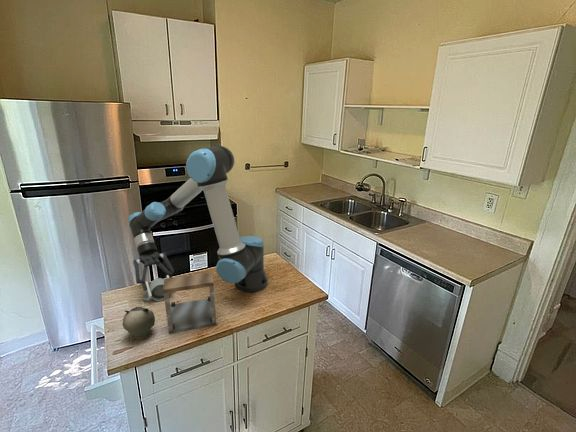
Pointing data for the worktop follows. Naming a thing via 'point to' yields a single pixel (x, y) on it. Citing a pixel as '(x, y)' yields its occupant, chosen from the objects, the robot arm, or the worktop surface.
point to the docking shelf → (190, 304)
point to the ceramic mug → (156, 290)
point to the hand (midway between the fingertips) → (161, 293)
